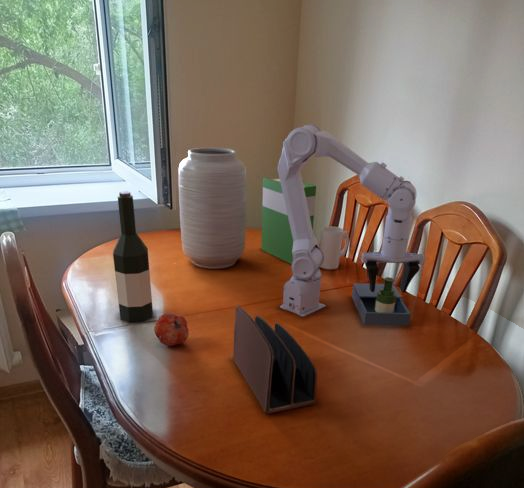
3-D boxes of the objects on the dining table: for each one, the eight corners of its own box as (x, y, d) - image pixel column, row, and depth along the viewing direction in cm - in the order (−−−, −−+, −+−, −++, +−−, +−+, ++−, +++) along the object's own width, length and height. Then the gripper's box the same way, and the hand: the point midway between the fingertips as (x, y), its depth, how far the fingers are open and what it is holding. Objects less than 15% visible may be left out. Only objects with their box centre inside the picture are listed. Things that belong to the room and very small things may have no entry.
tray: (351, 298, 136) (353, 285, 134) (391, 299, 136) (393, 286, 134) (363, 326, 121) (365, 313, 119) (408, 327, 121) (410, 313, 119)
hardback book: (261, 249, 170) (263, 177, 159) (278, 245, 174) (281, 175, 162) (292, 264, 157) (297, 188, 146) (310, 260, 161) (316, 185, 150)
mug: (324, 271, 153) (328, 233, 148) (313, 263, 159) (317, 227, 153) (351, 267, 157) (356, 230, 152) (340, 260, 163) (344, 224, 157)
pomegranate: (151, 351, 111) (161, 343, 103) (148, 319, 113) (157, 309, 104) (183, 348, 115) (195, 340, 106) (179, 317, 116) (191, 307, 107)
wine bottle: (145, 324, 118) (134, 198, 104) (113, 320, 119) (98, 195, 105) (159, 310, 125) (150, 190, 111) (128, 306, 126) (115, 187, 112)
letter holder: (266, 415, 88) (268, 347, 82) (232, 360, 105) (232, 300, 98) (315, 405, 92) (322, 338, 85) (275, 353, 108) (278, 294, 101)
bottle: (385, 324, 121) (392, 284, 116) (369, 318, 124) (375, 278, 119) (395, 318, 124) (402, 279, 119) (379, 312, 127) (386, 274, 122)
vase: (174, 254, 162) (168, 146, 146) (231, 248, 170) (231, 145, 154) (193, 276, 146) (189, 157, 130) (255, 267, 154) (258, 155, 138)
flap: (353, 284, 134) (353, 283, 133) (393, 285, 134) (393, 284, 134) (359, 297, 126) (359, 296, 126) (401, 298, 127) (401, 297, 126)
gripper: (421, 232, 118) (412, 285, 124) (361, 230, 117) (354, 283, 124) (431, 241, 112) (420, 296, 118) (367, 239, 111) (360, 295, 118)
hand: (387, 290), depth 120 cm, fingers open, 7 cm apart
